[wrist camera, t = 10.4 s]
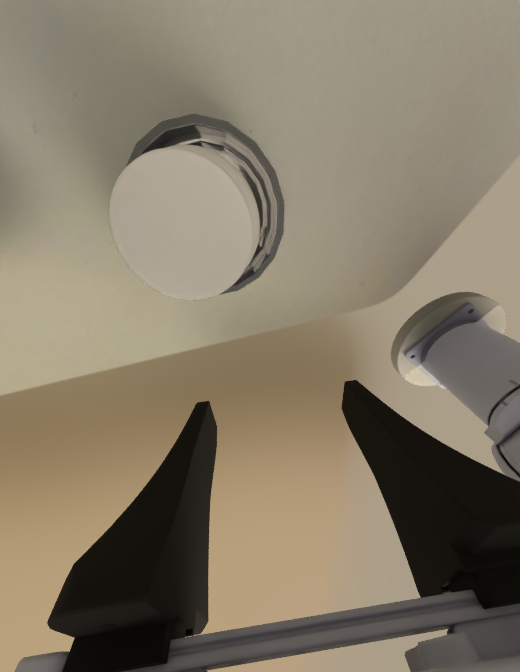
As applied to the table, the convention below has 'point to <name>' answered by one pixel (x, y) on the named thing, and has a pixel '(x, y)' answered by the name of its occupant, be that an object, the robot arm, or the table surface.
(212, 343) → the table surface
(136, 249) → the pill bottle
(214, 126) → the bowl
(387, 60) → the table surface
